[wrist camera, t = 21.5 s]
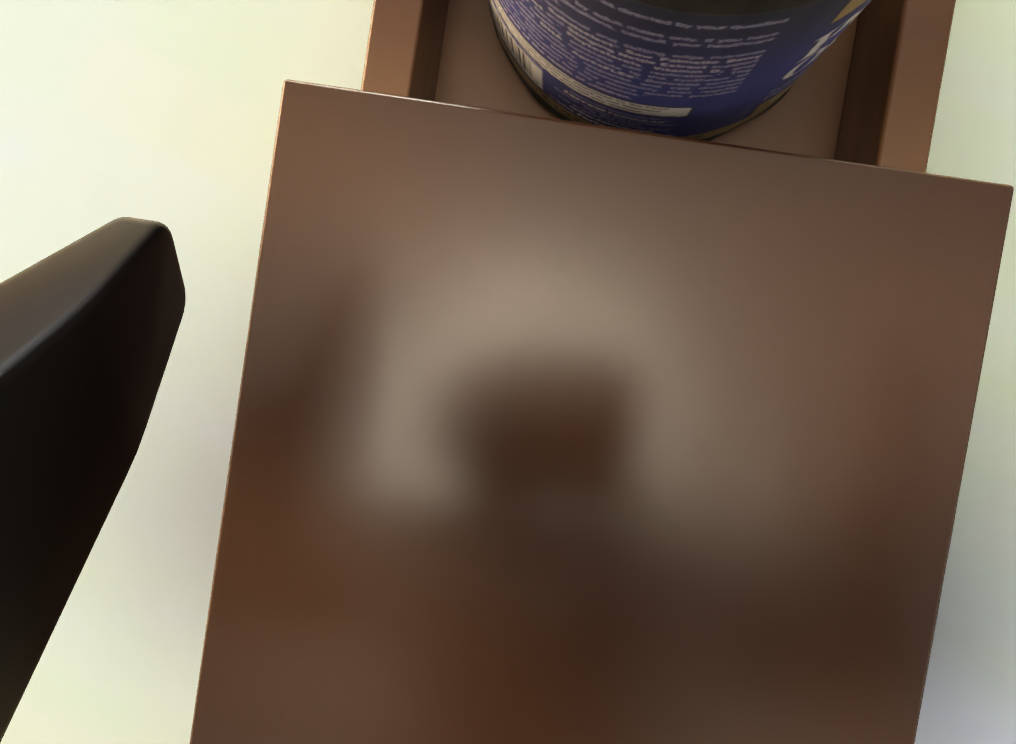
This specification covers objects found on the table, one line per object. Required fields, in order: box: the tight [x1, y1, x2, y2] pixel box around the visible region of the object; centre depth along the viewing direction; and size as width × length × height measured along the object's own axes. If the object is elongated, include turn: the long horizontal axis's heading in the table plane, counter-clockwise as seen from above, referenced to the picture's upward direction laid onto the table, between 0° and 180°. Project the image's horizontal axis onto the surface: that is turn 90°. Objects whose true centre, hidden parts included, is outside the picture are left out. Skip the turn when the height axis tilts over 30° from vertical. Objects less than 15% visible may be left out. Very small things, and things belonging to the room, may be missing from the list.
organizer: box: [190, 80, 1014, 744], centre depth 17 cm, size 12×11×5 cm
